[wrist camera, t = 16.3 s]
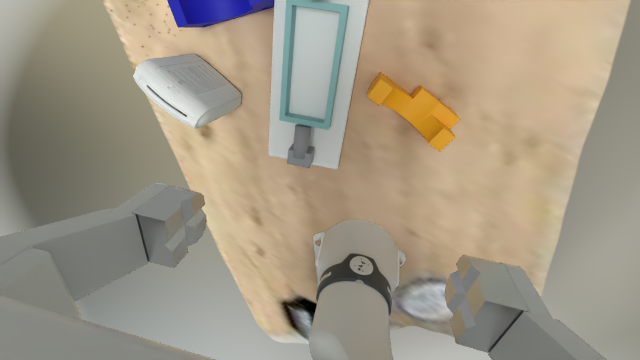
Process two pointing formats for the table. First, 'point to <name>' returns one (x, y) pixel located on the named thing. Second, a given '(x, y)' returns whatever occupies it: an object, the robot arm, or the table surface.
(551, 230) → the table surface
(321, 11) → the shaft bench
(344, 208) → the table surface
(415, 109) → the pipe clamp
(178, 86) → the photo printer
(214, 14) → the blue curved cradle
